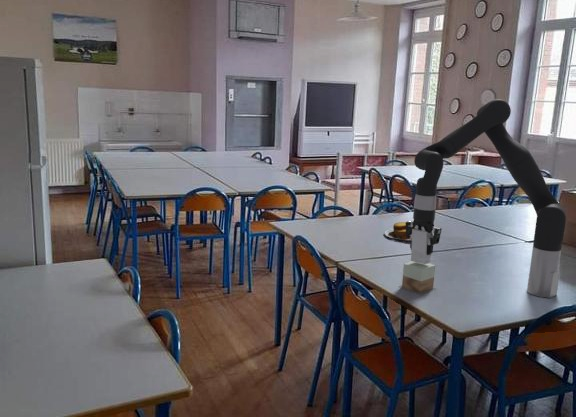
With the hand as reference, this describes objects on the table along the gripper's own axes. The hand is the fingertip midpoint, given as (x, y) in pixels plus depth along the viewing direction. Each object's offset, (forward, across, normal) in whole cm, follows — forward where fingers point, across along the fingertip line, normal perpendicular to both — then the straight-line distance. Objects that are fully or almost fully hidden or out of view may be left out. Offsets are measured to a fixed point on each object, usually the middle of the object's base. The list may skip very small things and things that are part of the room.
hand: (420, 252), depth 193 cm
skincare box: (+4, 0, 0) cm, 4 cm away
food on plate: (+15, +47, -59) cm, 77 cm away
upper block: (+9, 0, 0) cm, 9 cm away
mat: (+14, 0, 0) cm, 14 cm away
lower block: (+14, 0, 0) cm, 14 cm away
